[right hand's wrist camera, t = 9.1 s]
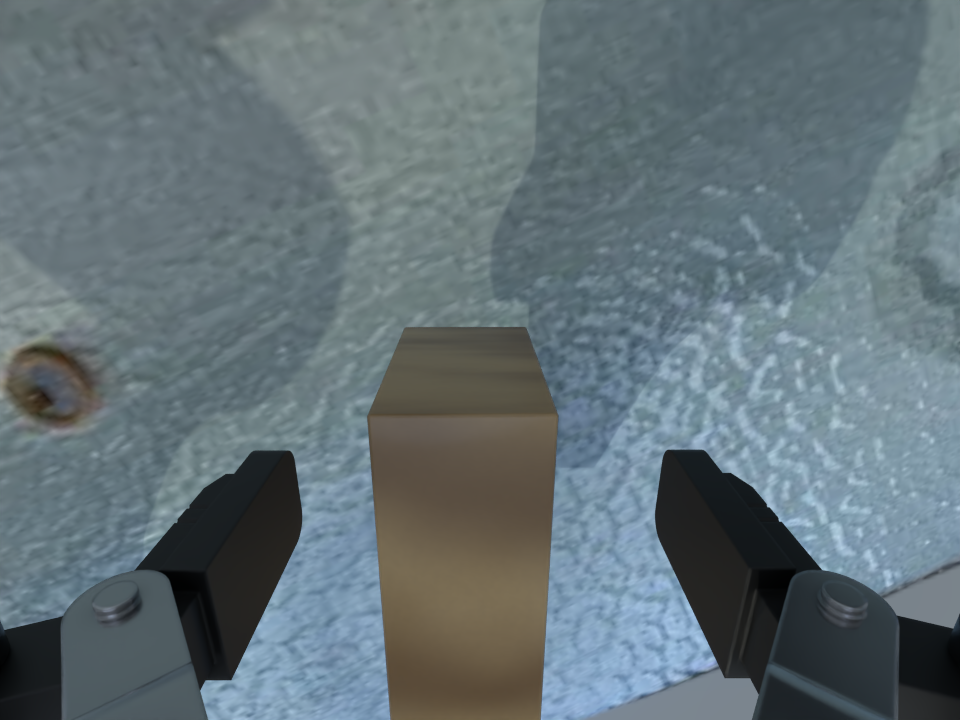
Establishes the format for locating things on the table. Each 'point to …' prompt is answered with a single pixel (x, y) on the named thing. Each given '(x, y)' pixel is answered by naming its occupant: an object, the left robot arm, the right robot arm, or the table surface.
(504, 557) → the bar
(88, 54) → the table surface
